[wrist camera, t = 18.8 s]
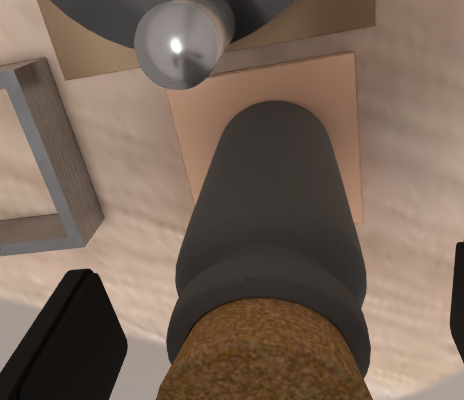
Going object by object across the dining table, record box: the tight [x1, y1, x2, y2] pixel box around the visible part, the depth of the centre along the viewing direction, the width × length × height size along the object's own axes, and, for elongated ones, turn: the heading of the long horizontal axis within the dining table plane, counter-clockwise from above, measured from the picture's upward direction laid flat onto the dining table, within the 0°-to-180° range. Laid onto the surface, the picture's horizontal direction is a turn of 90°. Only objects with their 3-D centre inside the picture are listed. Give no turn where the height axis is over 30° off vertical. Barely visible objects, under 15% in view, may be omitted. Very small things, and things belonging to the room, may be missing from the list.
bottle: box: [156, 101, 373, 400], centre depth 16 cm, size 6×6×15 cm
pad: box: [166, 51, 363, 224], centre depth 23 cm, size 9×9×1 cm
